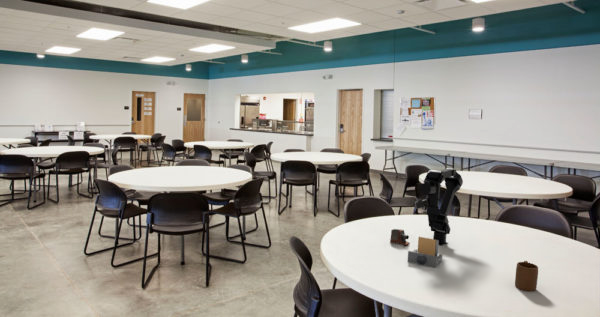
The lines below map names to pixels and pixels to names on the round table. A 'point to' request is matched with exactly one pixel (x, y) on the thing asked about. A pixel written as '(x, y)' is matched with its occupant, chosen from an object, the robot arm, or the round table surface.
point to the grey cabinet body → (424, 259)
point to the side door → (428, 246)
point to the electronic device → (399, 237)
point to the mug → (526, 276)
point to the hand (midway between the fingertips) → (430, 226)
